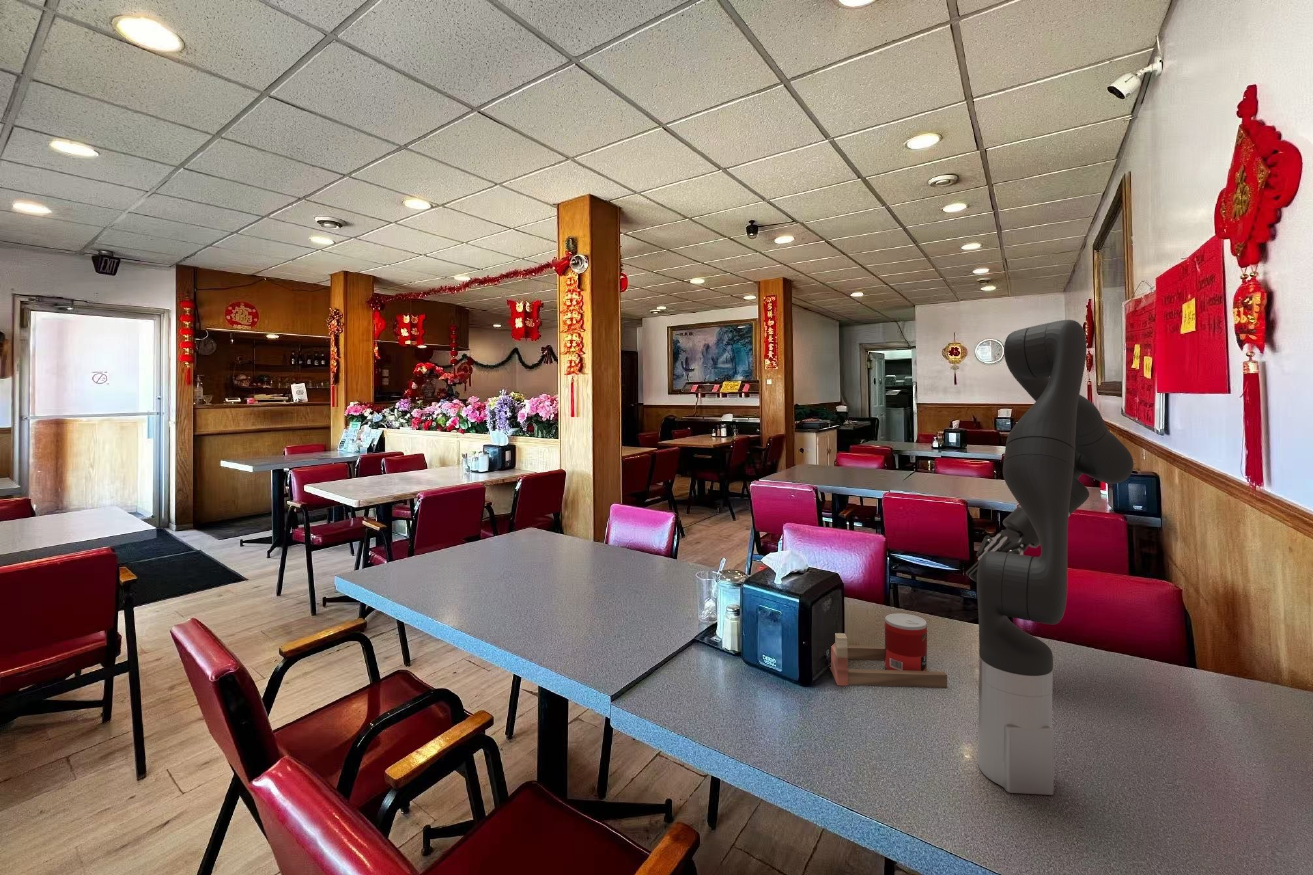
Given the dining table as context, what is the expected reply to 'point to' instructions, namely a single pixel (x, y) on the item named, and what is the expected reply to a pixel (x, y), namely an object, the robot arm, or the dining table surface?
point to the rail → (876, 677)
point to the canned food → (905, 642)
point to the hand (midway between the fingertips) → (971, 578)
